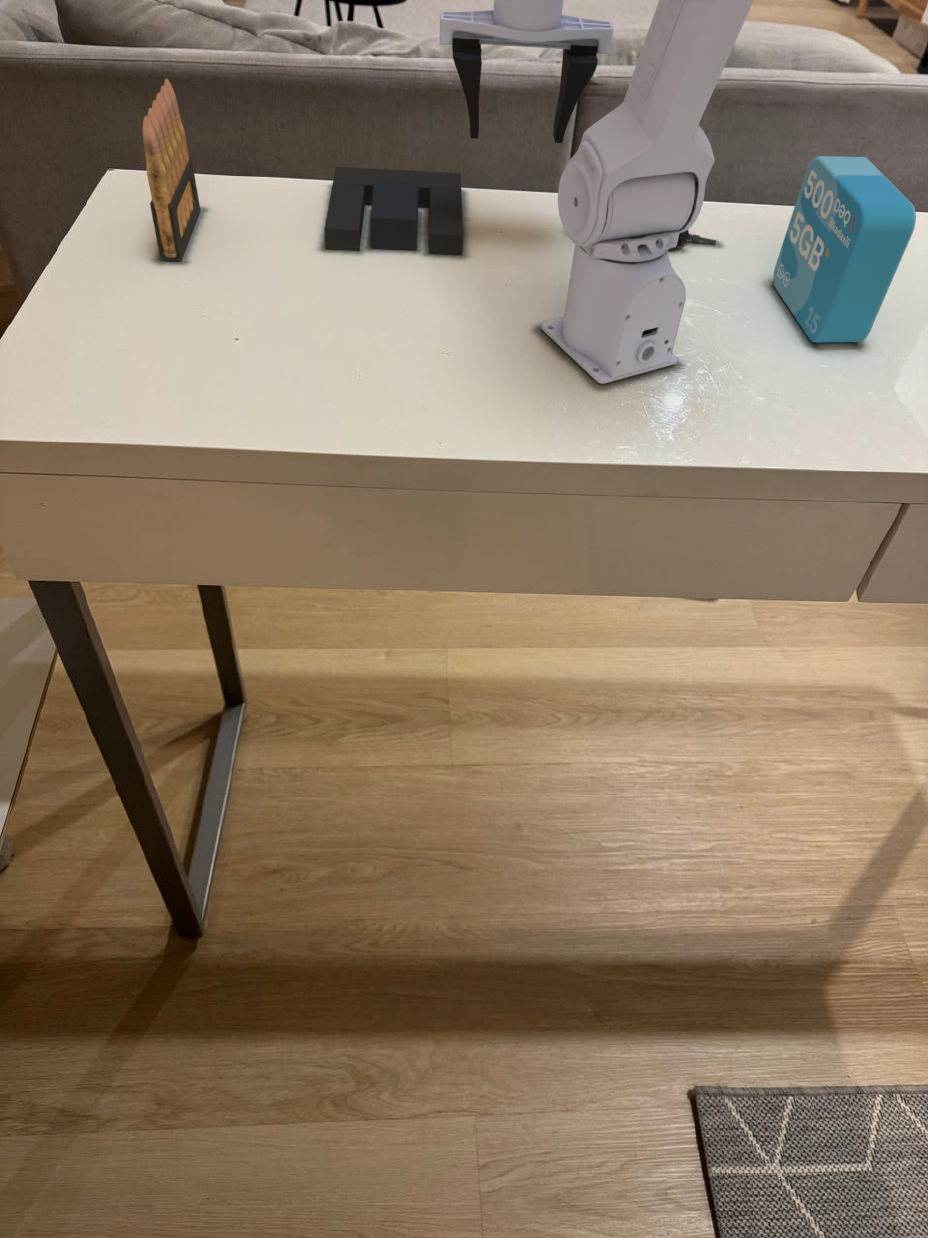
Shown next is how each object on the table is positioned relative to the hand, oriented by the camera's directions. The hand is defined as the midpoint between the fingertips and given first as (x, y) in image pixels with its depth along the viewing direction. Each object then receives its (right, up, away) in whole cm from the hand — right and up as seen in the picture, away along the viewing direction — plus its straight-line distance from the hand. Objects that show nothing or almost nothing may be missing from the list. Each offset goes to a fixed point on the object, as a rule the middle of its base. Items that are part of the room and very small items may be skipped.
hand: (516, 136), depth 83 cm
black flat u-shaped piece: (-12, -4, +8) cm, 15 cm away
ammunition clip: (-32, -8, +4) cm, 33 cm away
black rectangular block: (-12, -6, +7) cm, 14 cm away
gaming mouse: (+13, -6, +9) cm, 17 cm away
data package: (+27, -16, 0) cm, 32 cm away
